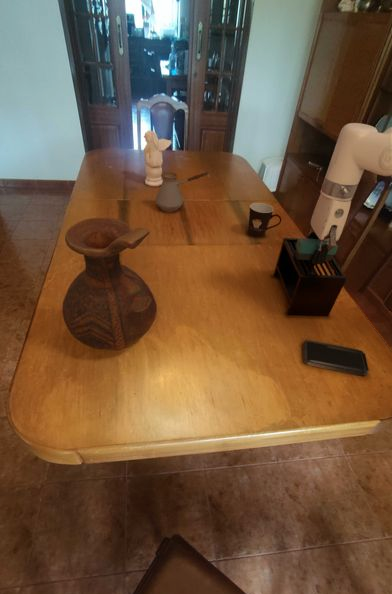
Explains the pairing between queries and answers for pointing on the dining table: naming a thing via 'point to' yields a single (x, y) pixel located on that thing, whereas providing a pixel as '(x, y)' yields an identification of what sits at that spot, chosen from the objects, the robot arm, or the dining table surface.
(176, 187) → the coffee pot
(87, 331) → the jug
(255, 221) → the coffee mug
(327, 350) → the phone
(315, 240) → the teal rectangular block
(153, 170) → the cherub figurine
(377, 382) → the dining table surface
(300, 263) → the rack
